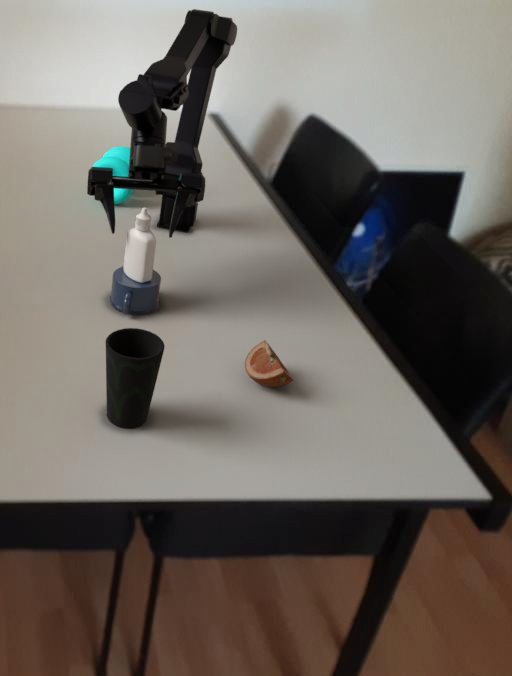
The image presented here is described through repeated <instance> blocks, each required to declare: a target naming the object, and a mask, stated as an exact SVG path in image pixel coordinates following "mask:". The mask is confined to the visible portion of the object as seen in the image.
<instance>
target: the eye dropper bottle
mask: <svg viewBox="0 0 512 676" xmlns="http://www.w3.org/2000/svg"><path fill="white" fill-rule="evenodd" d="M151 224H152V216H151V215H150V214H148V208H147V207H144V206H143V207H142V208H141V212H140V213H138V214H136V216H135V223H134V226H132V227H131V226H130V227H129V228H128V230H127V231H126V239H125V248H124V249H125V250H124V258H123V259H124V260H123V266H122V267H123V270H124V272H125V274H126V275H127V276H128V277H129V278H131V279H132V280H134V281H137V282H139V283H144V282H148V281H150V280H151V279H152V273H153V270H154V264H155V254H156V246H157V239H156V236H155V234H154V232H153V231H152V230H151Z"/></svg>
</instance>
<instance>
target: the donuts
mask: <svg viewBox="0 0 512 676" xmlns="http://www.w3.org/2000/svg"><path fill="white" fill-rule="evenodd" d="M129 159H130V147H128V146H124V145H119V146H114V147H112V148H109V149H108V150H107V151H106V152H105V153H104V154H103V156H102V157H101V158H99V159H98V160H97V161H95V162H94V163H93V164H92V166H91V168H92V167H104V168H113V176H123V177H128V173H129ZM134 191H135V190H134V189H119V188H114V205H119V204H123V203H124V202H126V201H127V200H128V199H129V198H131V196H132V195H133V193H134Z"/></svg>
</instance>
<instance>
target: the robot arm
mask: <svg viewBox="0 0 512 676" xmlns="http://www.w3.org/2000/svg"><path fill="white" fill-rule="evenodd" d="M237 34H238V25H237V24H236V23H235V22H234V20H233V18H232V17H227V16H220V15H219V14H218V13H214V11H210V10H203V9H196V8H193V9H191V10H190V9H188V11H187V12H186V14H185V18H184V23H183V25H182V27H181V29H180V30H179V32H178V34H177V35H176V37H175V39H174V40H173V42H172V44H171V45H170V47H169V49H168V51H167V53H166V54H165V56H164V57H163V58H161V59H158V60H157V61H155V62H153V63H151V64H150V65H149V67H148V68H147V69H146V71H145V72H144V73H143V74H142V73H140V74H138V75H137V78H136V80H133V81H130V82H129V83H126V85H124V86H123V88H122V89H121V90H119V93H118V97H117V99H118V100H117V103H118V105H119V107H120V110H121V112H122V115H123V116H124V119H125V121H126V123H127V124H128V126H129V127H130V128H131V131H130V132H131V133H130V147H129V148H130V159H129V173H128V177H123V176H113V168H104V167H92V166H91V167H90V169H88V174H87V187H86V189H87V191H86V194H87V195H89V196H91V197H94V200H95V201H98V202H100V203H101V206H102V208H103V209H104V212H105V214H106V217H107V221H108V225H109V228H110V232H111V234H112V235H113V234H115V231H116V209H115V207H116V206H115V204H114V188H119V189H134V191H135V190H137V191H152V192H155V195H157V196H158V195H159V196H161V203H160V212H159V219H158V221H157V223H156V227H157V228H160V229H166V230H168V237H169V238H170V239H171V238H172V237H173V235H174V232H175V231H178V232H183V233H189V232H190V231H191V229H192V228H193V227H194V226H195V224H196V220H197V213H198V208H199V207H198V206H199V203H201V202H202V201H204V198H205V192H206V177H205V176H204V173H203V172H202V170H203V166H204V165H203V160H202V157H201V153H200V151H199V145H200V141H201V136H202V132H203V128H204V124H205V119H206V115H207V111H208V107H209V103H210V97H211V94H212V90H213V85H214V80H215V77H216V74H217V73H216V72H217V69H218V68H219V67H220V66H221V65H222V64H223V62H224V61H225V60H226V59H227V58H229V56H230V51H231V48H232V46H234V44H235V42H236V40H237ZM181 106H182V107H181ZM180 108H181V112H180V117H179V121H178V126H177V130H176V133H175V139H174V142H173V141H167V131H168V129H167V128H168V116H167V114H166V112H164V111H163V110H167V111H173V112H177V111H178V110H179V109H180Z"/></svg>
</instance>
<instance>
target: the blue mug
mask: <svg viewBox="0 0 512 676" xmlns="http://www.w3.org/2000/svg"><path fill="white" fill-rule="evenodd" d="M123 267H124V266H120V267H118V268H116V269H115V270H114V271H113V273H112V280H111V290H110V291H111V292H110V296H109V304H110V306H111V307H112V308H113V309H115V310H116V311H118V312H120V313H123V315H132V316H142V315H143V316H144V315H148V314H151V313H153V312H155V311H156V310H157V309H158V308H159V304H160V301H159V300H160V299H159V298H160V291H161V290H160V289H161V283H162V276H161V274H160V273H159V272H158V271H156V270H154V269H153V273H152V279H151V280H150V281H148V282H144V283H139V282H137V281H134V280H132V279H131V278H129V277H128V276H127V275H126V274H125V272H124V270H123Z"/></svg>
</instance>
